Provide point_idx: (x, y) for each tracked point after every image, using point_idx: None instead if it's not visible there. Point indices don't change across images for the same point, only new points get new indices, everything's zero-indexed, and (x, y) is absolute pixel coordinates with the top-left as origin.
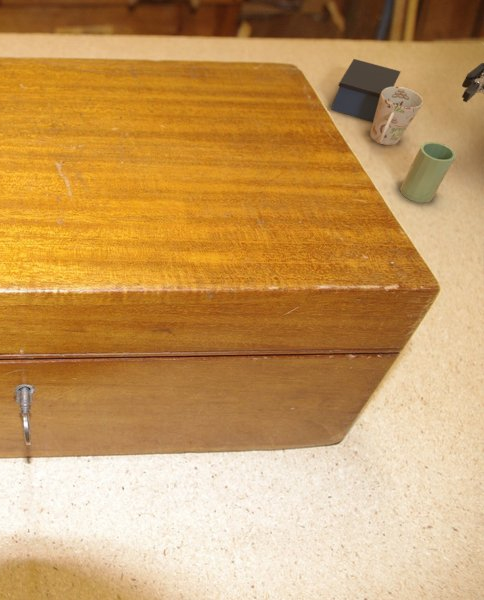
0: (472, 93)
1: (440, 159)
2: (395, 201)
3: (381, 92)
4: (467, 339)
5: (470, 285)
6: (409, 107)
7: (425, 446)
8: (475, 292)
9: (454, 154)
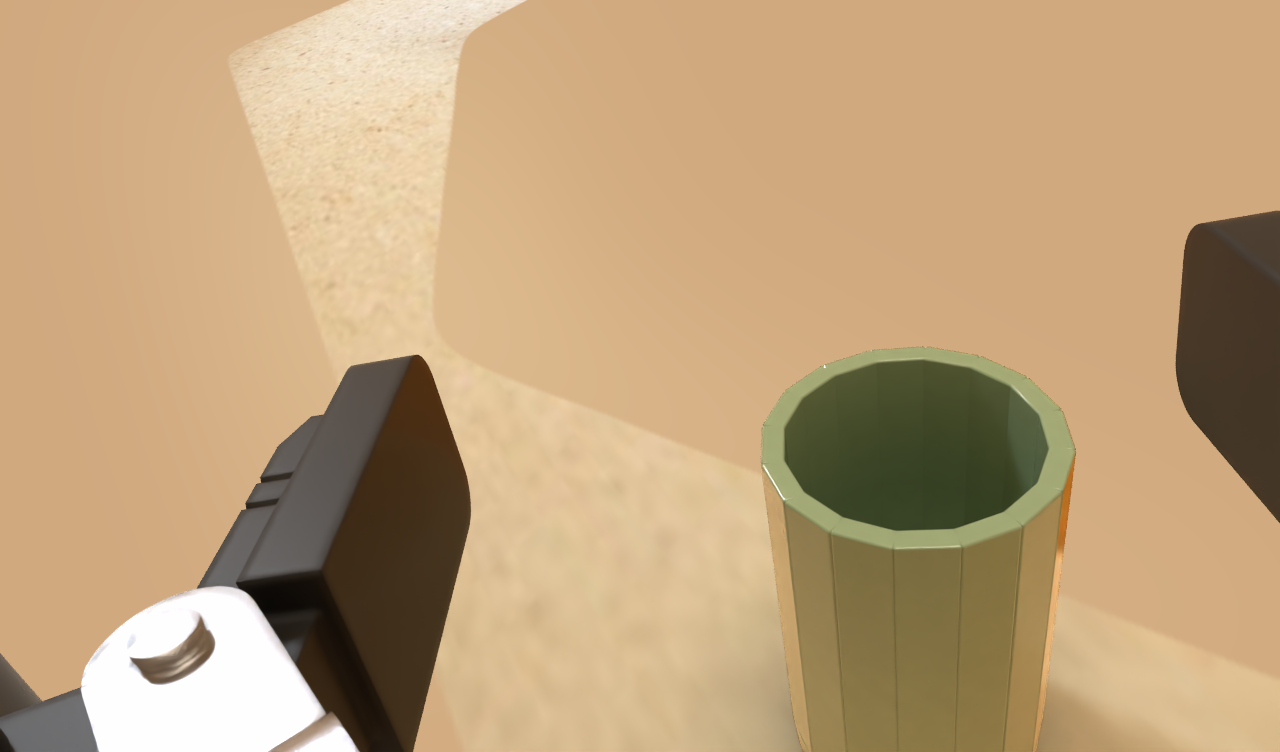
0: (1254, 345)
1: (822, 380)
2: None
3: None
4: (324, 261)
5: None
6: None
7: (342, 95)
8: None
9: (796, 498)
